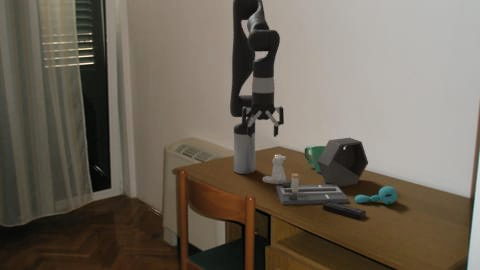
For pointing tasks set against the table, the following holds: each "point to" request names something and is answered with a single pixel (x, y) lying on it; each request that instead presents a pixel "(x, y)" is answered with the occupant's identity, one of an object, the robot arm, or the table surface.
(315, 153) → the mug
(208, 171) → the table surface
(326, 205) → the multiport hub
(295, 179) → the fader tab
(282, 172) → the sitting furry creature
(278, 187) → the console board
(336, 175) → the planter
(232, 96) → the robot arm
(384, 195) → the toy
